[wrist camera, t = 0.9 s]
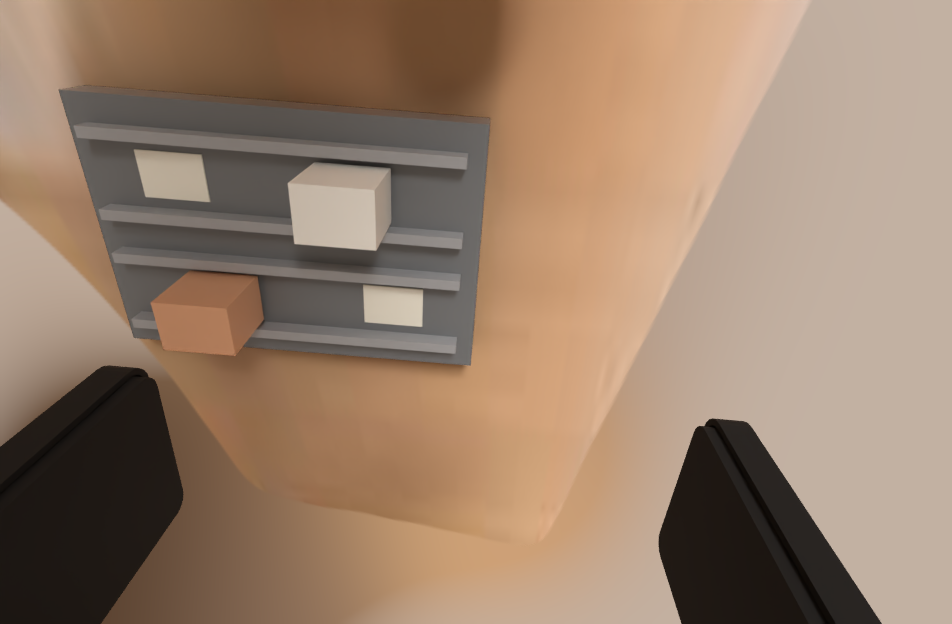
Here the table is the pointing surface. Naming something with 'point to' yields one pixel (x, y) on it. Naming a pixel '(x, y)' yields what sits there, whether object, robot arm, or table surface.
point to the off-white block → (341, 205)
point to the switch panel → (288, 214)
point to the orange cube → (208, 312)
